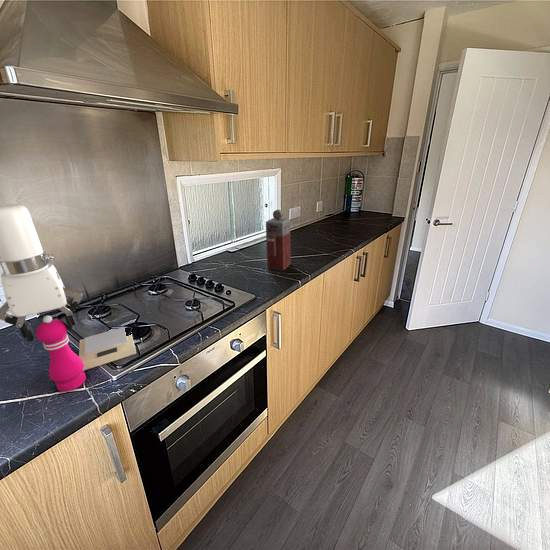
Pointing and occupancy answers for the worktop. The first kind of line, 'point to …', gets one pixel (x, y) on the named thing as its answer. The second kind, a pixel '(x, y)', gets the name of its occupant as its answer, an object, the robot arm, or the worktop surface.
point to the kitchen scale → (106, 348)
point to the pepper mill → (61, 355)
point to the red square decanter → (278, 241)
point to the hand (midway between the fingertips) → (52, 332)
